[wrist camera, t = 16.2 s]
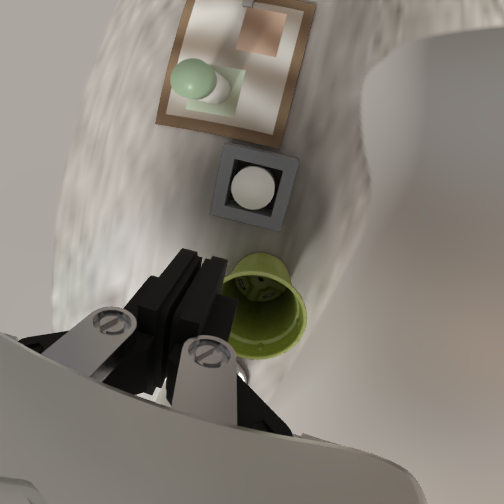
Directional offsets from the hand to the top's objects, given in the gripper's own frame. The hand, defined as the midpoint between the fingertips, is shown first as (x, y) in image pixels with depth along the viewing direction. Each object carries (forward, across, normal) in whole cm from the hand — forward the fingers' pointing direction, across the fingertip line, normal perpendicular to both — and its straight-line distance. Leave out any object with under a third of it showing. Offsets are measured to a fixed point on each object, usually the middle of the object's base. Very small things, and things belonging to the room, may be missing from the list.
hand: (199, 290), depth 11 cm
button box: (+22, 0, 0) cm, 22 cm away
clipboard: (+22, +5, -12) cm, 26 cm away
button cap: (+21, 0, 0) cm, 21 cm away
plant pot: (+22, -3, +10) cm, 25 cm away
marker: (+21, +6, -8) cm, 24 cm away
